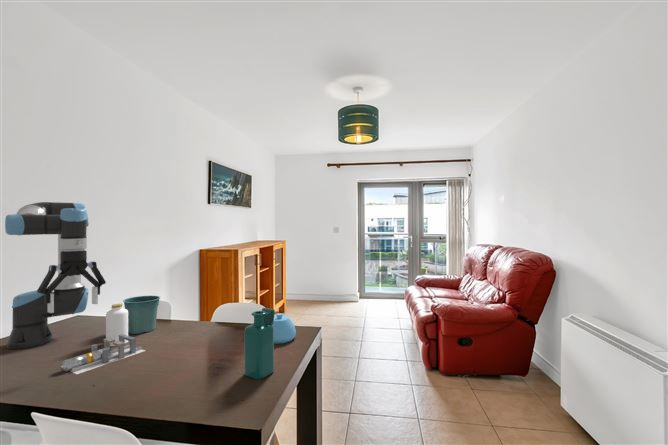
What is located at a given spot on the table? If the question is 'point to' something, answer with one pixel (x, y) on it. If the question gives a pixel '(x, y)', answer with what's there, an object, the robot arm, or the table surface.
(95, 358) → the tube
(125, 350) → the collar board
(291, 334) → the sugar bowl
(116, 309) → the potion bottle
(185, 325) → the table surface
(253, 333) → the teal bottle
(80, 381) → the table surface
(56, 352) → the table surface
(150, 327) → the flower pot
